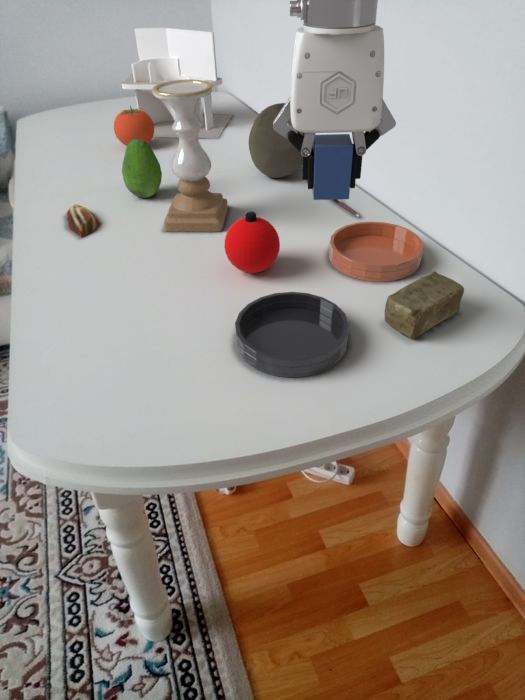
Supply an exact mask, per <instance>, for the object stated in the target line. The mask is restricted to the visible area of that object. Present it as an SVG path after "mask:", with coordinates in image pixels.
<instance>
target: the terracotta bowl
mask: <svg viewBox="0 0 525 700" xmlns="http://www.w3.org/2000/svg"><path fill="white" fill-rule="evenodd" d="M334 231H335V232H334V233H332V234H331V235H330V240H329V249H328V250H329V251H328V255H329V261H330V263H331V265H332V266H333V267H334V268H335V269H336V270H337V271H338V272H339V273H341V274H343V275H345V276H348V277H350V278H353V279H356V280H359V281H360V280H361V281H366V282H374V283H375V282H377V283H378V282H379V283H381V282H391V281H399V280H401V279H405V278H408V277H409V276H411V275H413V274H414V273H416V271H417V270H418V269H419V267H420V265H421V262H422V257H423V252H424V242H423V240H422V239H421V237H420V236H419V235H418V234H417V233H415V232H414V231H412V230H411V229H409V228H406V227H405V226H401V225H399V224H394V223H389V222H385V221H360V222H359V221H358V222H354V223H349V224H346V225H344V226H342V227H340V228H338V229H336V230H334Z"/></svg>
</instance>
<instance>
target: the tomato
mask: <svg viewBox="0 0 525 700" xmlns="http://www.w3.org/2000/svg"><path fill="white" fill-rule="evenodd" d="M139 109H140V108H137V107H136V108H132V106H131V105H129V109H123V110H121V112H119V113H118V114H117V115H116V117H115V119H114V121H113V132H114V134H115V137H116V138H117V140H118V141H119V142H120V143H122V145H125V146H126V147H127V145H128V144H129V143H130V141H131V140H133V139H140V140H143V141H145V142H146V143H147V144H149V143H150V142H151V140H152V139H153V138H154V137H153V135H154V123H153V121H152V119H151V117H150V116H149V115H148V114H147V113H146V112H144V111H142V110H139Z"/></svg>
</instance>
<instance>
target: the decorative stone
mask: <svg viewBox="0 0 525 700" xmlns="http://www.w3.org/2000/svg"><path fill="white" fill-rule="evenodd" d="M66 217H67V225H68V229H69V230H70V231H72V232H73V233H74V234H76V235H77V236H79V237H80V238H81V239H82V238H84V237H86V236H89V235H90V234H93V233H94V232H95V230H96V229H97V227H99V221H98V219H97V218H96V217H95V216H94V215H93V214H92V212H91V211H90V210H89V209H88V208H87V207H86V206H82V205H79V204H76V203H75V204H73V205H72V206H71V207H70V208H69V209H68V210H67V211H66Z"/></svg>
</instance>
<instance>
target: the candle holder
mask: <svg viewBox="0 0 525 700" xmlns="http://www.w3.org/2000/svg"><path fill="white" fill-rule="evenodd" d="M213 90H214V87H213V86H212V84H211V83H209V82H207V81H203V80H174V81H168V82H164V83H160V84H157V85H155V86H154V87H153V88H152V93H153V95H154V96H155V97H156V98H159V99H163V100H168V103H169V104H170V105H171V106H172V108H173V109H174V111H175V115H176V116H175V121H174V123H173V125H172V129H173V130H174V131H175V132H176V134H177V136H178V138H177V139H178V146H177V148H176V150H175V152H174V154H173V156H172V159H171V171H172V173H173V174H174V175H175V177H177V178H179V180H178V182H177V190H178V191H179V193H176V195H175V196H174V198H173V200H172V202H171V204H170V206H169V209H168V211H167V214H166V216H165V218H164V222H163V223H164V230H165V232H172V233H173V232H174V233H175V232H180V233H181V232H184V233H185V232H187V233H189V232H190V233H191V232H192V233H193V232H195V233H197V232H198V233H199V232H202V233H203V232H204V233H208V232H209V233H211V232H212V233H214V232H215V233H216V232H222V230H223V228H224V226H225V222H226V217H227V214H228V210H229V206H228V199H227V198H224V196H223V194H222V193H220V192H211V191H209V190H210V188H211V182H210V180H209V179H208V178H207V176H208V175H209V174H210V172H211V170H212V162H211V158H210V157H209V155H208V153H207V152H206V151H205V150H204V148H203V147H202V145H201V144H200V141H199V138H198V134H199V129H201V127H202V124H201V123H200V122H199V120H198V119H197V117H196V114H195V111H196V106H197V105H198V103H199V99H200V98H201V99H202V98H203V97H204V96H207V95H209V94H210V93H211V94H212V92H213Z"/></svg>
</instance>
